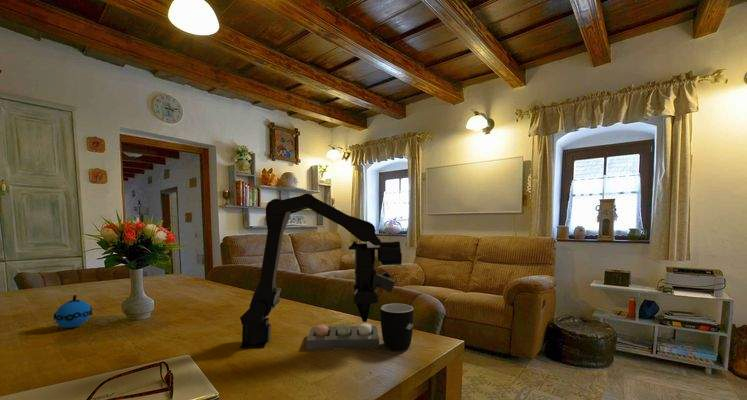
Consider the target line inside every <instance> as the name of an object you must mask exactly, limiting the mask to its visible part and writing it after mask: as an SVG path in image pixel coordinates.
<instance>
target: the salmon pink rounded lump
mask: <svg viewBox="0 0 747 400" xmlns="http://www.w3.org/2000/svg"><path fill="white" fill-rule="evenodd" d="M314 327H315V336H328V329H329V327H330V326H329V324H326V323H325V324H324V323H323V324H317V325H316V326H314Z"/></svg>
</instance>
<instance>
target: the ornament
mask: <svg viewBox="0 0 747 400" xmlns="http://www.w3.org/2000/svg"><path fill="white" fill-rule="evenodd" d="M92 314H93V308H92V307H91V305H90V304H89V303H88V302H87V301H85V300H82V299H77V295H76V294H74V295H73V296H72V300H69V301H67V302H64V303H63V304H61V305H60V306H59V307H58V308H57V310H56V312H54V314H53V320H55V321H54V322H55V324H57V325H58V326H59V327H62V328H64V329H65V328H66V329H74V328H77V327H80V326H82V324H84V323H86V322H87V321H88V320H89V318H90V316H92Z"/></svg>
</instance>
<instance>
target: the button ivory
mask: <svg viewBox="0 0 747 400" xmlns="http://www.w3.org/2000/svg"><path fill="white" fill-rule="evenodd" d="M358 326H359V335H371V326H373V325H372V324H371V323H367V322H363V323H360V324H358Z"/></svg>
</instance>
